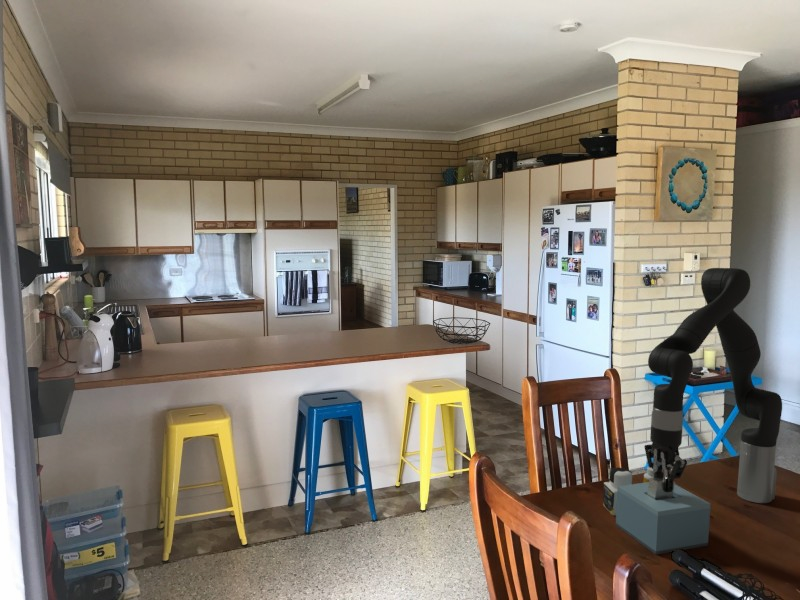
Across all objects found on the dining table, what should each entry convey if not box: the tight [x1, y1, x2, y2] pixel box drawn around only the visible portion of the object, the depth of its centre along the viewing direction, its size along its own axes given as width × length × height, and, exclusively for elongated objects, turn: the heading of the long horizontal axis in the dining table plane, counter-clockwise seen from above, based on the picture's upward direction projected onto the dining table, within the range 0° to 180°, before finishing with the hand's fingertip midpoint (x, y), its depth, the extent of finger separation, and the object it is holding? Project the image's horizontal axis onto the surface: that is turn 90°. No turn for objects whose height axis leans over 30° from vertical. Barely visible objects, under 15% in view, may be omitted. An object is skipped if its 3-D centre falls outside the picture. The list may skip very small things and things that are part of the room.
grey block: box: [647, 477, 676, 500], centre depth 165 cm, size 6×3×6 cm, turn 107°
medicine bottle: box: [602, 467, 633, 517], centre depth 181 cm, size 7×7×12 cm
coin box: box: [615, 482, 712, 555], centre depth 166 cm, size 16×16×11 cm
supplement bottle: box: [642, 466, 665, 483], centre depth 186 cm, size 6×6×10 cm
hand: (663, 488), depth 165 cm, fingers closed on grey block, 3 cm apart
